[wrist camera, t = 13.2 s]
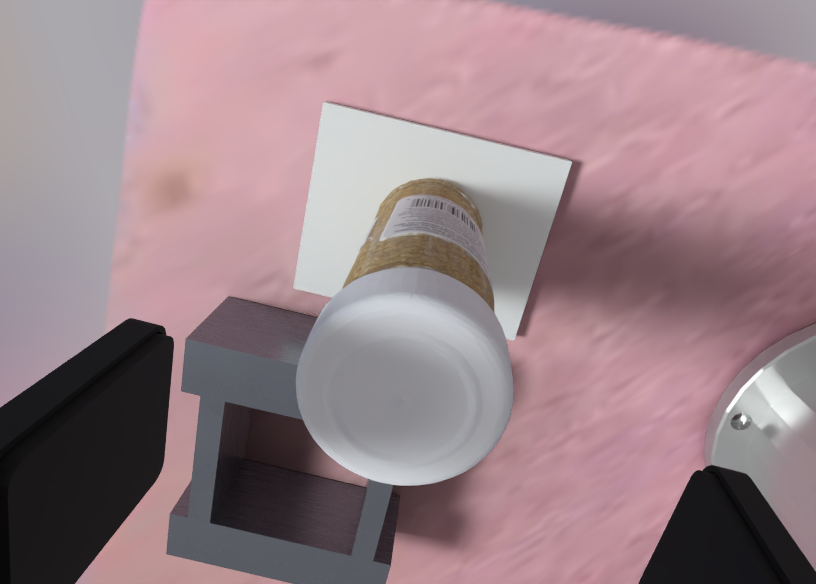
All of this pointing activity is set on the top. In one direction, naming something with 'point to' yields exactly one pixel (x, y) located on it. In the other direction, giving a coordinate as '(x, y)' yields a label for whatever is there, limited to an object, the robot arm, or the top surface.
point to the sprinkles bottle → (410, 346)
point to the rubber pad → (418, 159)
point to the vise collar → (263, 484)
